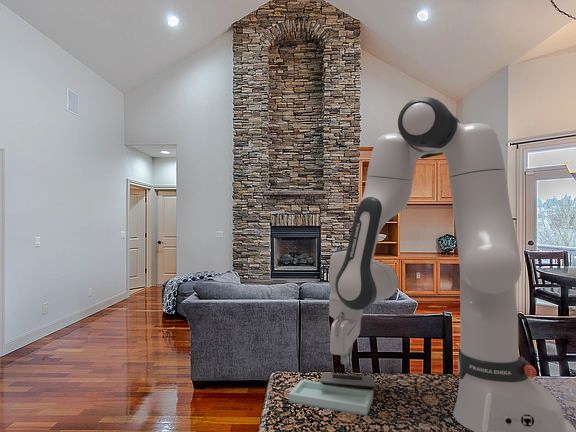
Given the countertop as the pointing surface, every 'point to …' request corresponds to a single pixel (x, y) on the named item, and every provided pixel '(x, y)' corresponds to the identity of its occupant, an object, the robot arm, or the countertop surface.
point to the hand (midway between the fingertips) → (346, 361)
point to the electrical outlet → (347, 380)
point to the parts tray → (332, 397)
